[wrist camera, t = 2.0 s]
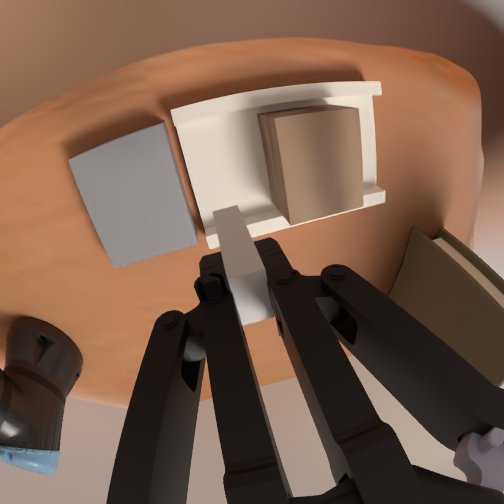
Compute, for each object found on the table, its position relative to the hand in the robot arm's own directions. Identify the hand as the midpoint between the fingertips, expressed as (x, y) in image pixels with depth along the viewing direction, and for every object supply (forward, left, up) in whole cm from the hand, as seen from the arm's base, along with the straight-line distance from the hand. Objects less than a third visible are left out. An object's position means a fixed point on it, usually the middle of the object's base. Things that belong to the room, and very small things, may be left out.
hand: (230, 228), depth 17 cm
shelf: (+9, 0, -14) cm, 17 cm away
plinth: (-8, 0, -14) cm, 16 cm away
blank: (+10, 0, -13) cm, 16 cm away
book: (+30, -27, -14) cm, 43 cm away
